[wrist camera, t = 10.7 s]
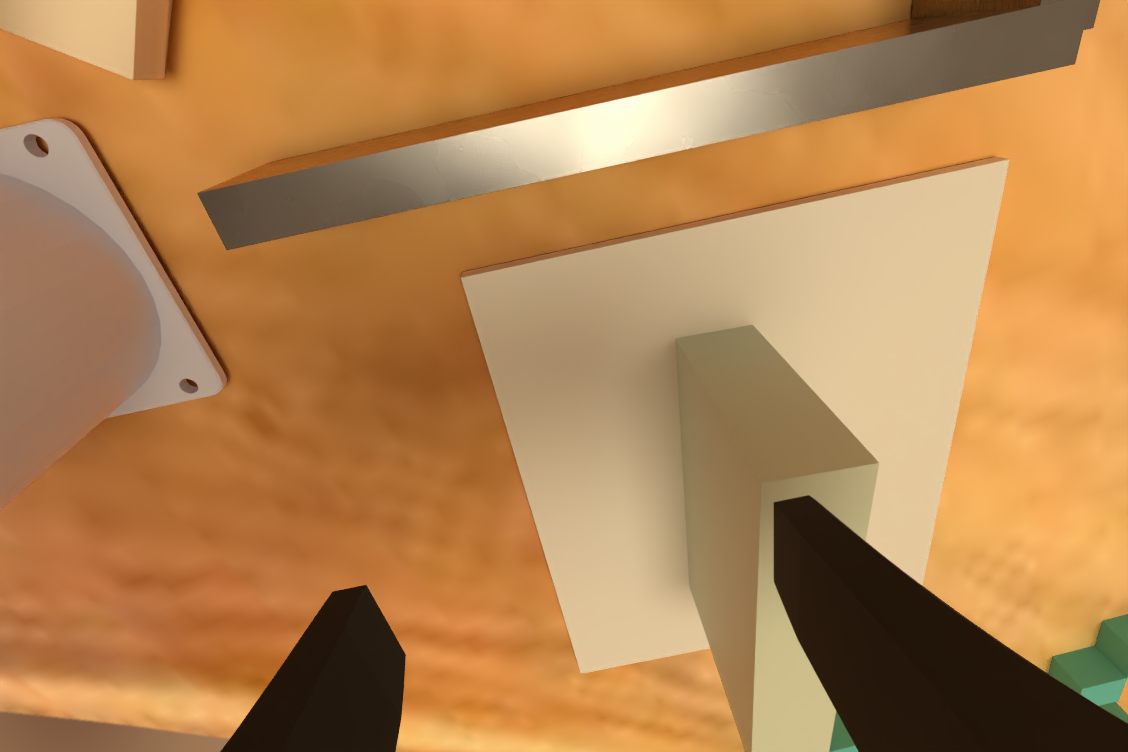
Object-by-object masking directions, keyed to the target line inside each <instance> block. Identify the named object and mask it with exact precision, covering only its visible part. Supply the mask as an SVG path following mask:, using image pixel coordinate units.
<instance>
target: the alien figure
mask: <svg viewBox="0 0 1128 752" xmlns="http://www.w3.org/2000/svg"><path fill="white" fill-rule="evenodd" d="M1049 675H1050V676H1052V677H1054V678H1055V679H1057V680H1058V681H1060V682H1062V683H1063V684H1065V685H1066V686H1068V687H1069V688H1071V689H1073V690H1074V691H1076V692H1077V693H1079V694H1081V695H1082V696H1084V697H1085V698H1087V699H1089V700H1090V701H1092V702H1093V703H1095V704H1097V705H1098V706H1100V707H1101V708H1103V709H1105V710H1106V711H1108V712H1110V713H1111V714H1113V715H1115V716H1116V717H1118V718H1120V719H1121V720H1123V721H1125V722H1127V723H1128V715H1127V714H1126V713H1125V711H1124V710H1123V709H1122V708H1121V707H1120V706H1119V705H1118V704H1117V703H1116V701H1119V699H1120V696H1121V693H1122V690H1123V688H1124V685H1125V682H1126V680H1127V678H1128V614H1127V615H1123V616H1120V617H1116V618H1112V619H1108V620H1104V621H1102V624H1101V627H1100V631H1099V634H1098V637H1097V641H1096V644H1095V646H1092V647H1088V648H1084V649H1080V650H1076V651H1072V652H1068V653H1064V654H1061V655H1057V656H1053V657H1052V661H1051V665H1050V669H1049ZM829 752H858V750H857V748H856V746H855V744H854V742H853V741H852V739H851V737H850V735H849V733H848V731H847V730H846V728H845V726H844V724H843V722H842V720H841V719H840V717H839V715H838V713H837V712H836V715H835V721H834V727H833V732H832V738H831V744H830V750H829Z"/></svg>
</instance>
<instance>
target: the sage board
mask: <svg viewBox="0 0 1128 752" xmlns="http://www.w3.org/2000/svg"><path fill="white" fill-rule="evenodd" d="M675 339H676V356H677V374H678V392H679V409H680V427H681V445H682V462H683V480H684V498H685V516H686V533H687V551H688V569H689V586H690V590H691V593H692V596H693V599H694V602H695V604H696V607H697V610H698V613H699V616H700V619H701V622H702V625H703V628H704V631H705V634H706V637H707V640H708V643H709V646H710V649H711V652H712V655H713V658H714V661H715V663H716V666H717V669H718V672H719V675H720V678H721V681H722V684H723V687H724V690H725V693H726V696H727V699H728V702H729V705H730V708H731V711H732V714H733V717H734V720H735V723H736V725H737V728H738V731H739V734H740V737H741V740H742V743H743V746H744V749H745V752H829V750H830V744H831V738H832V732H833V727H834V721H835V715H836V710H835V708H834V706H833V704H832V702H831V700H830V699H829V697H828V695H827V693H826V691H825V689H824V688H823V686H822V684H821V682H820V680H819V678H818V676H817V675H816V673H815V671H814V669H813V667H812V665H811V663H810V662H809V660H808V658H807V656H806V654H805V652H804V650H803V649H802V647H801V645H800V643H799V641H798V639H797V637H796V634H795V632H794V630H793V627H792V625H791V623H790V620H789V618H788V616H787V613H786V611H785V608H784V606H783V603H782V601H781V598H780V596H779V593H778V591H777V588H776V586H775V584H774V502H777V501H782V500H787V499H792V498H797V497H802V496H807V495H809V496H811V497H812V498H814V499H815V500H817V501H818V502H819V503H820V504H821V505H823V506H824V507H825V508H826V509H827V510H829V511H830V512H831V513H832V514H833V515H834V516H836V517H837V518H838V519H839V520H840V521H842V522H843V523H844V524H845V525H846V526H848V527H849V528H850V529H851V530H852V531H854V532H855V533H856V534H857V535H859V536H860V537H861V538H862V539H863V540H865V541H866V537H867V531H868V525H869V520H870V514H871V508H872V502H873V497H874V491H875V485H876V479H877V474H878V468H879V462H878V461H877V460H876V459H875V458H874V456H873V455H872V454H871V453H870V452H869V451H868V450H867V449H866V448H865V447H864V446H863V444H862V443H861V442H860V441H859V440H858V439H857V438H856V437H855V436H854V435H853V434H852V432H851V431H850V430H849V429H848V428H847V427H846V426H845V425H844V424H843V423H842V422H841V420H840V419H839V418H838V417H837V416H836V415H835V414H834V413H833V412H832V411H831V410H830V408H829V407H828V406H827V405H826V404H825V403H824V402H823V401H822V400H821V399H820V398H819V396H818V395H817V394H816V393H815V392H814V391H813V390H812V389H811V388H810V387H809V386H808V384H807V383H806V382H805V381H804V380H803V379H802V378H801V377H800V376H799V375H798V374H797V372H796V371H795V370H794V369H793V368H792V367H791V366H790V365H789V364H788V363H787V362H786V360H785V359H784V358H783V357H782V356H781V355H780V354H779V353H778V352H777V351H776V349H775V348H774V347H773V346H772V345H771V344H770V343H769V342H768V341H767V340H766V339H765V337H764V336H763V335H762V334H761V333H760V332H759V331H758V330H757V329H756V328H755V327H754V325H748V326H742V327H737V328H731V329H725V330H719V331H714V332H708V333H702V334H697V335H691V336H685V337H679V338H675Z"/></svg>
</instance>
